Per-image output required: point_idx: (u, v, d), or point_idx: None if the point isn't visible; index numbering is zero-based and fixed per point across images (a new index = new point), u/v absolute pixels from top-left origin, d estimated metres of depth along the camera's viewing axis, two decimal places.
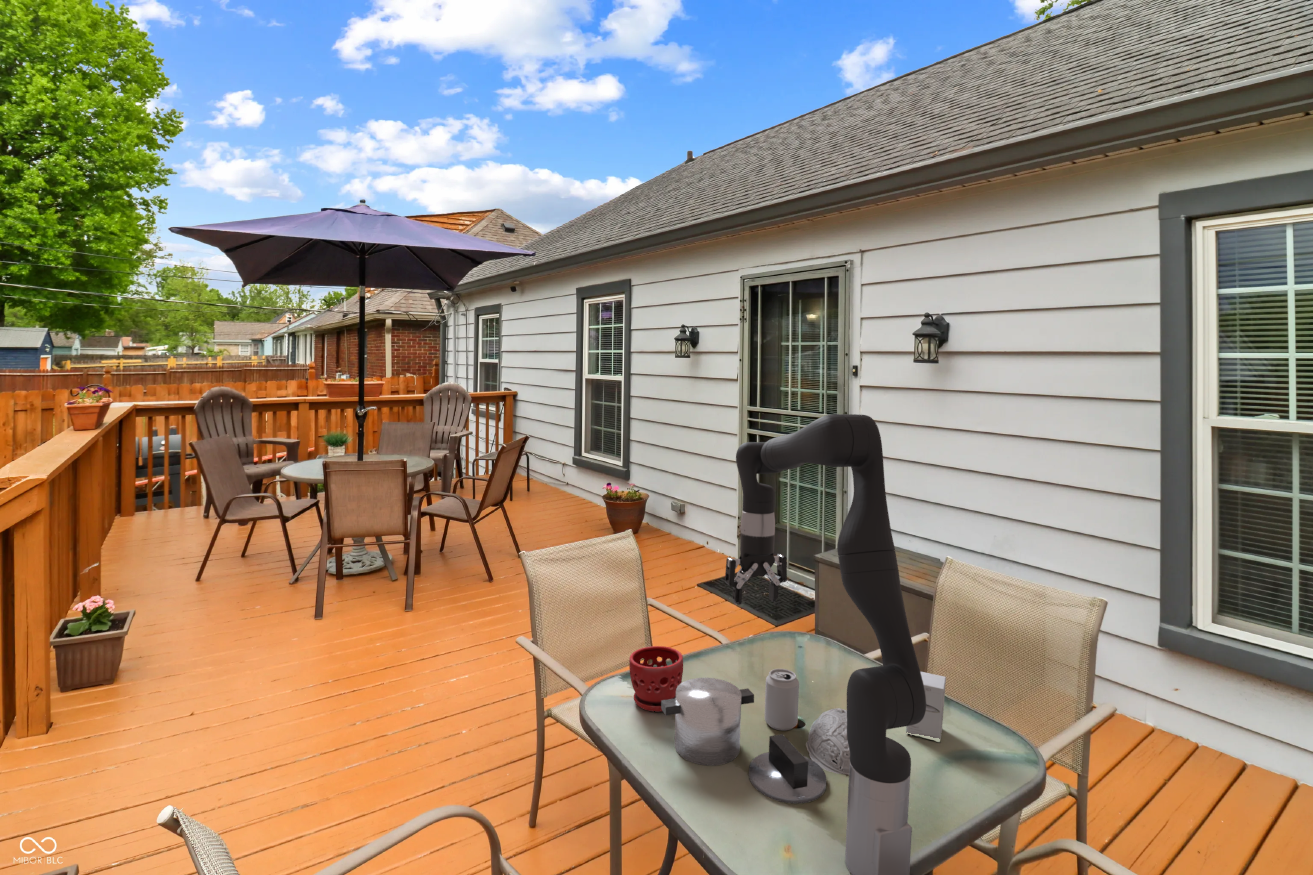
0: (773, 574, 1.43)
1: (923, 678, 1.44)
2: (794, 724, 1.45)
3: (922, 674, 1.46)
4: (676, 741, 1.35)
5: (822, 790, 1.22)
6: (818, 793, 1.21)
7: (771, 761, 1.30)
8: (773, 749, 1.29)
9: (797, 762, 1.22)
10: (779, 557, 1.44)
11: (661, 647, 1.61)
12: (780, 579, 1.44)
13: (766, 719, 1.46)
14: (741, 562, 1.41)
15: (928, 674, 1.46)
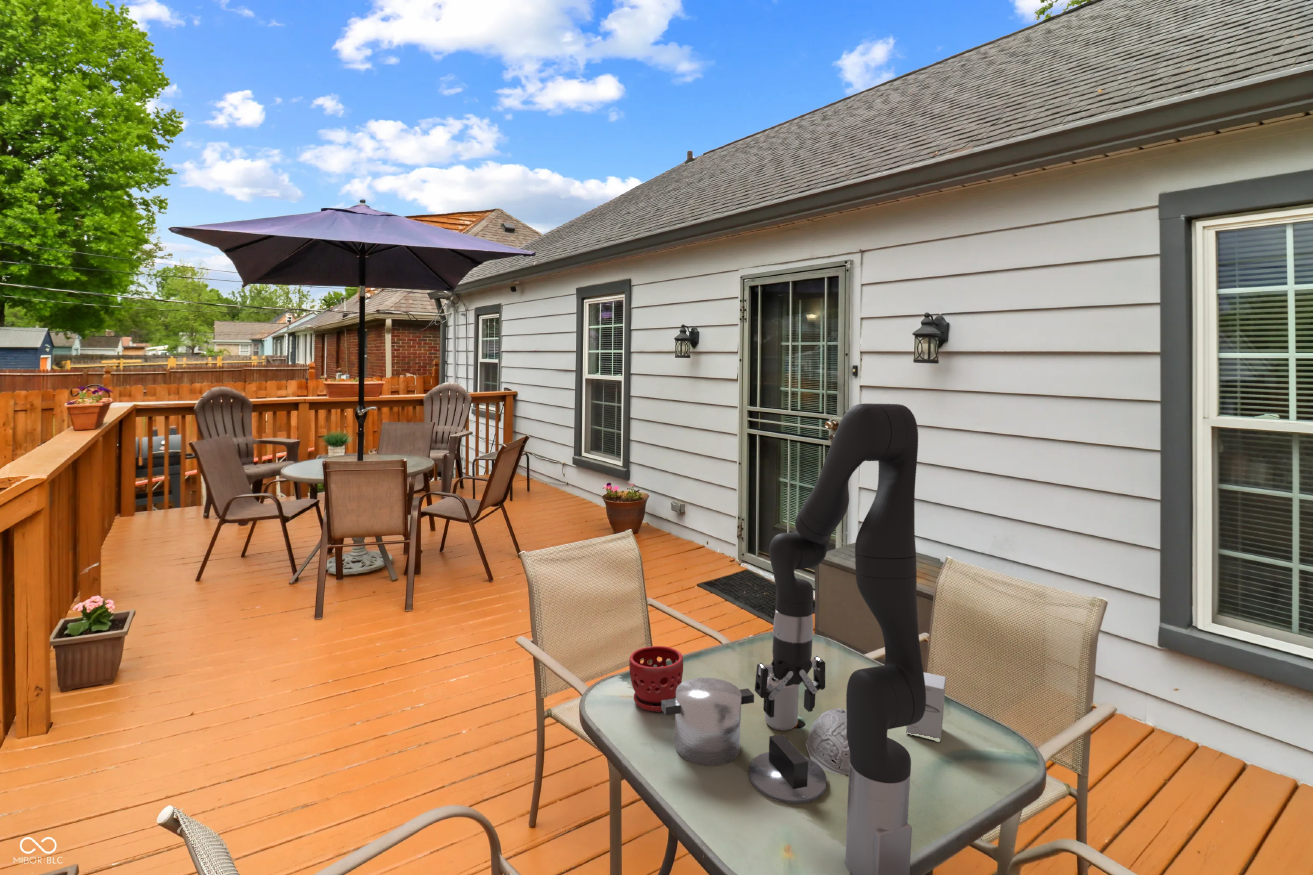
0: (810, 682, 1.25)
1: None
2: (794, 724, 1.45)
3: None
4: (676, 741, 1.35)
5: (822, 790, 1.22)
6: (818, 793, 1.21)
7: (771, 761, 1.30)
8: (773, 749, 1.29)
9: (797, 762, 1.22)
10: (817, 661, 1.26)
11: (661, 647, 1.61)
12: (817, 686, 1.26)
13: (766, 719, 1.46)
14: (774, 670, 1.23)
15: (928, 674, 1.46)
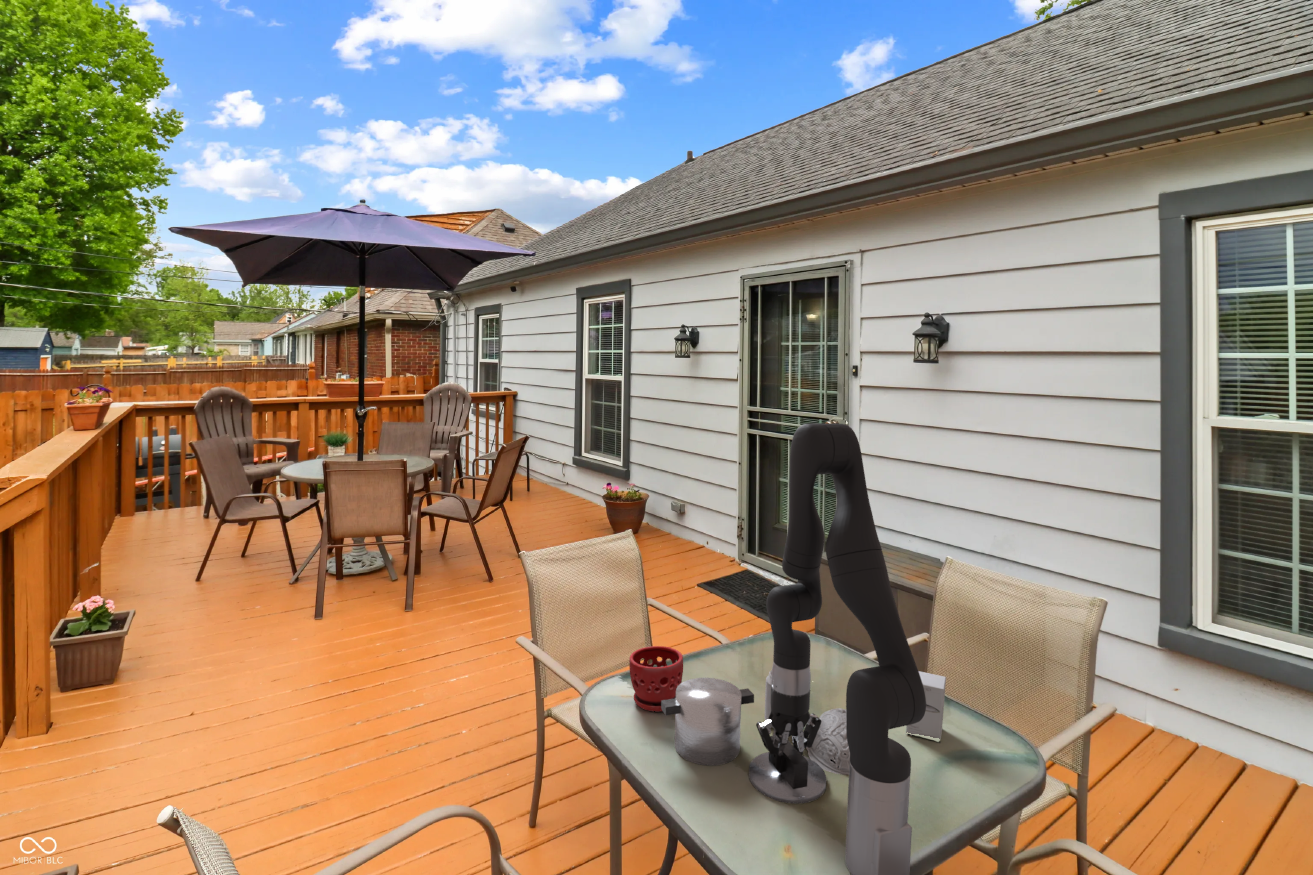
0: (802, 738, 1.25)
1: (923, 678, 1.44)
2: None
3: (922, 674, 1.46)
4: (676, 741, 1.35)
5: (822, 790, 1.22)
6: (818, 793, 1.21)
7: (771, 761, 1.30)
8: None
9: (797, 762, 1.22)
10: (814, 717, 1.27)
11: (661, 647, 1.61)
12: (804, 744, 1.27)
13: (766, 719, 1.46)
14: (773, 724, 1.24)
15: (928, 674, 1.46)
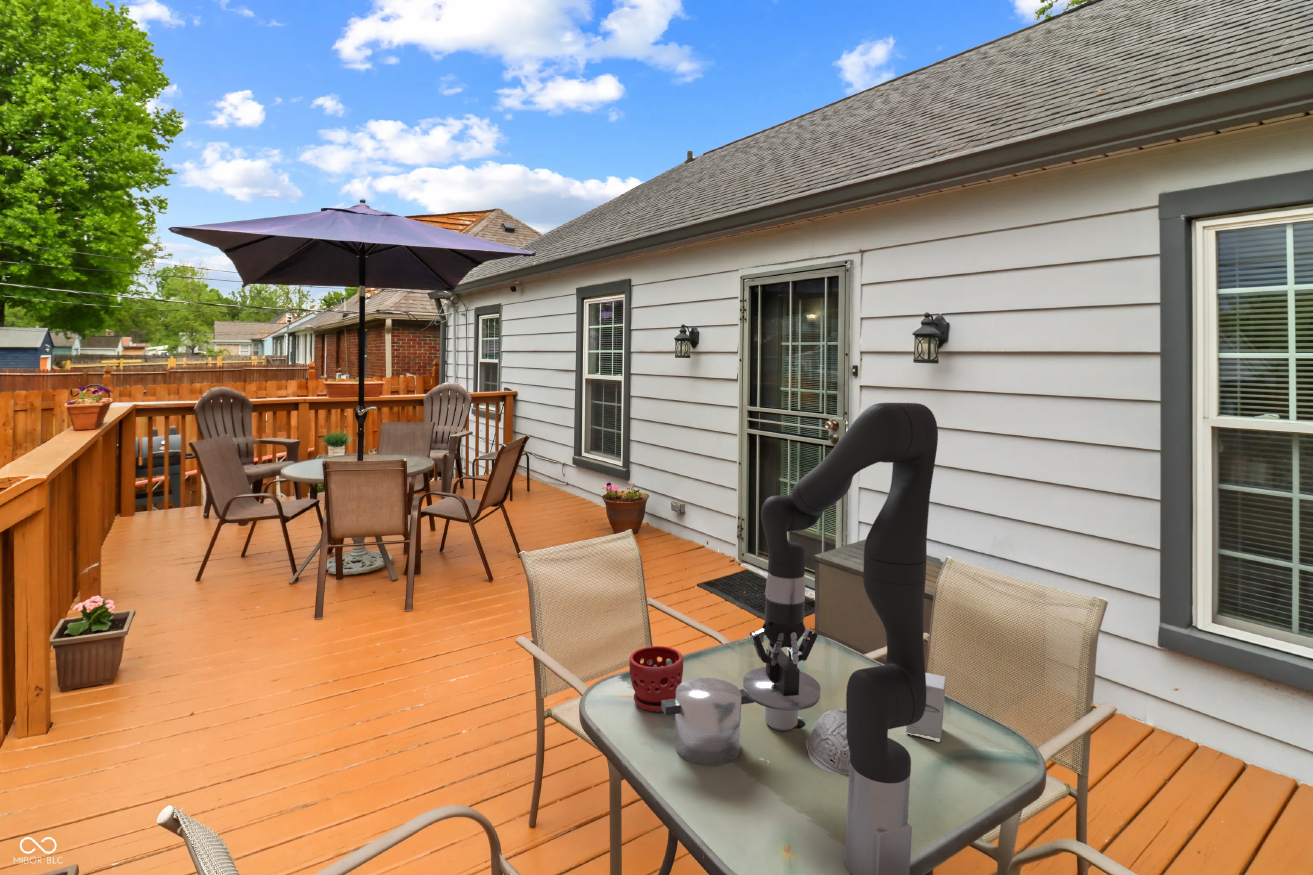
0: (796, 649, 1.25)
1: None
2: (794, 724, 1.45)
3: None
4: (676, 741, 1.35)
5: (813, 699, 1.21)
6: (809, 701, 1.20)
7: None
8: None
9: (788, 669, 1.21)
10: (810, 631, 1.26)
11: (661, 647, 1.61)
12: (799, 657, 1.26)
13: (766, 719, 1.46)
14: (765, 633, 1.24)
15: (928, 674, 1.46)
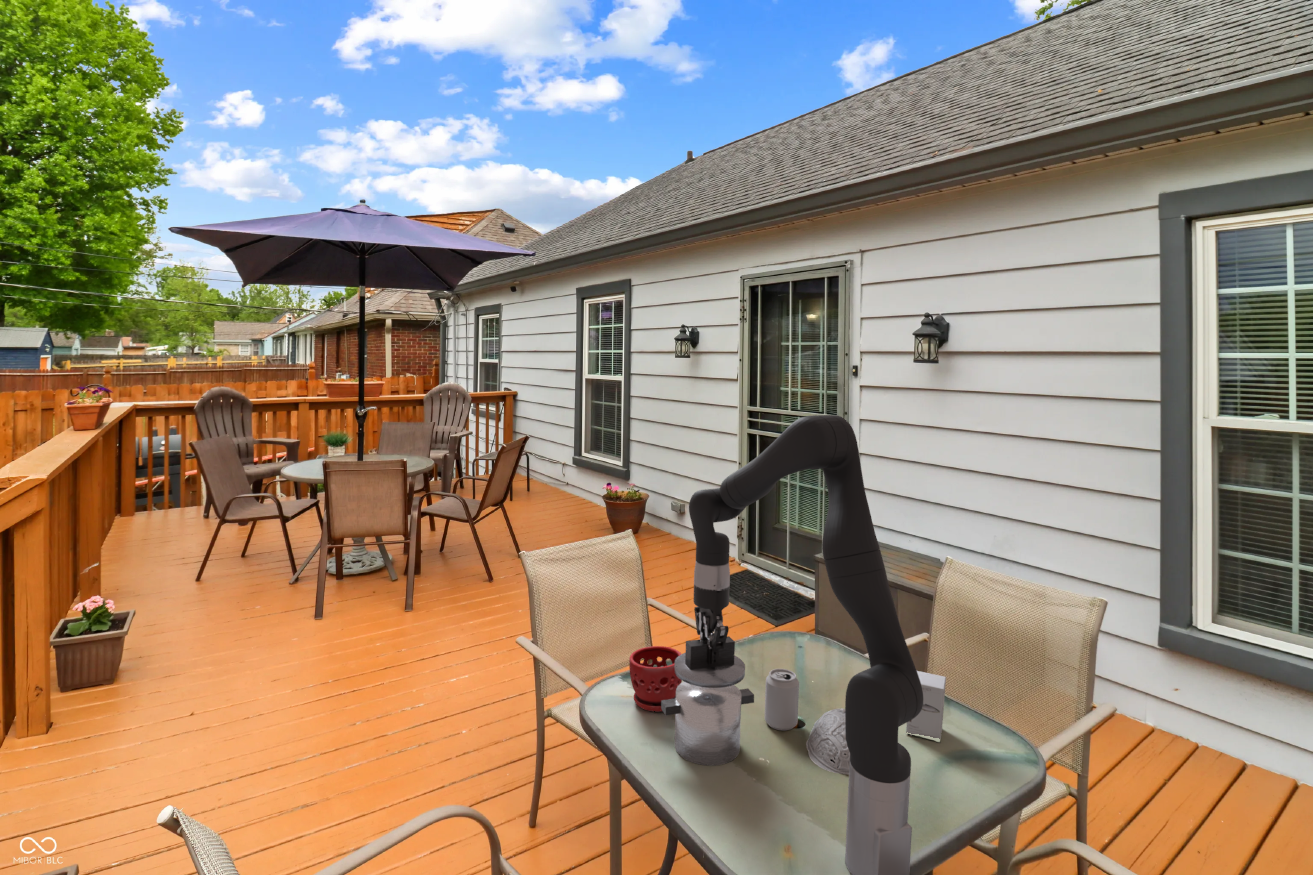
0: (706, 634, 1.33)
1: (923, 678, 1.44)
2: (794, 724, 1.45)
3: (922, 674, 1.46)
4: (676, 741, 1.35)
5: (688, 678, 1.30)
6: (683, 675, 1.31)
7: None
8: None
9: (688, 642, 1.35)
10: (718, 625, 1.30)
11: (661, 647, 1.61)
12: None
13: (766, 719, 1.46)
14: None
15: (928, 674, 1.46)
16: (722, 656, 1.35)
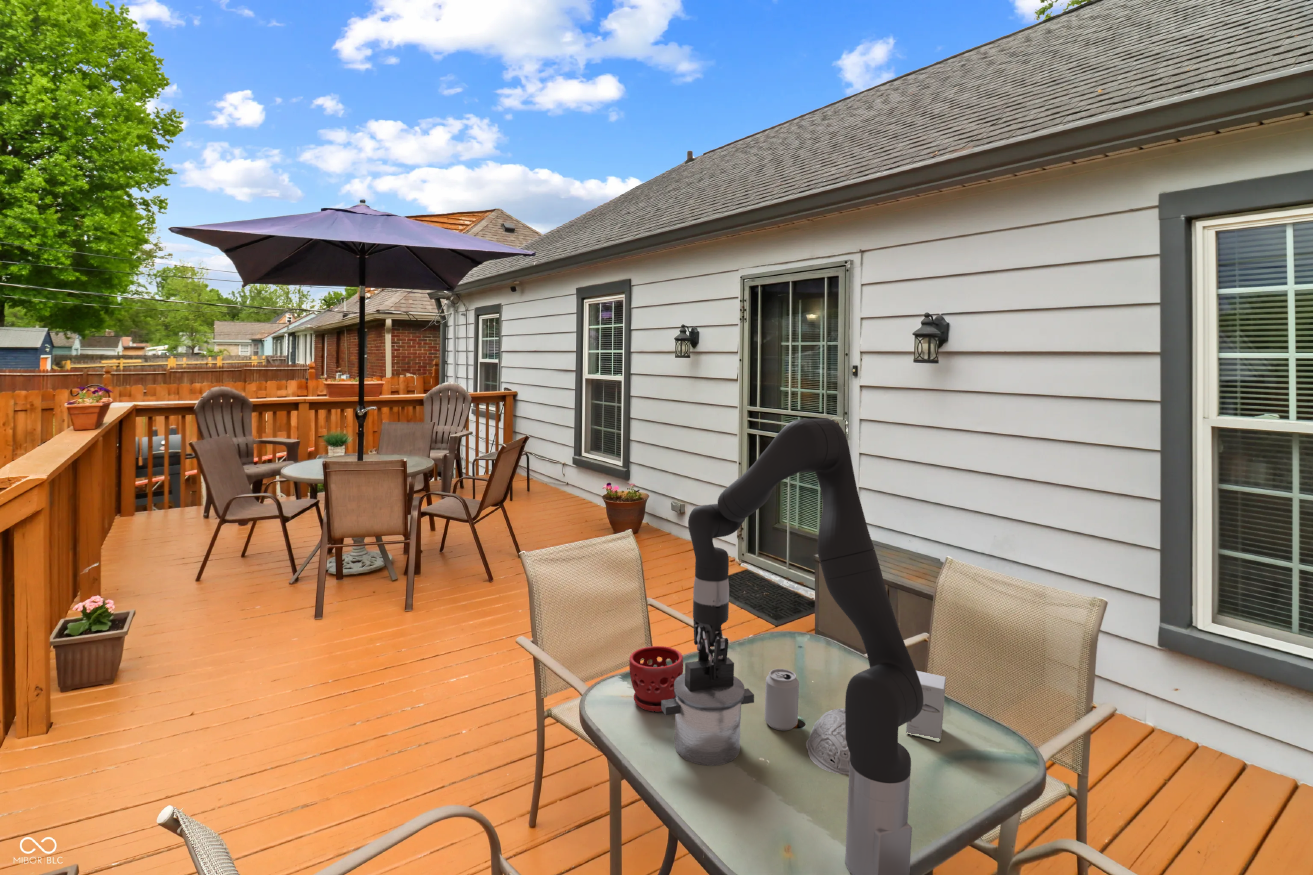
0: (707, 649, 1.33)
1: (923, 678, 1.44)
2: (794, 724, 1.45)
3: (922, 674, 1.46)
4: (676, 741, 1.35)
5: (688, 700, 1.31)
6: (683, 697, 1.32)
7: None
8: None
9: (688, 664, 1.35)
10: (718, 638, 1.30)
11: (661, 647, 1.61)
12: None
13: (766, 719, 1.46)
14: None
15: (928, 674, 1.46)
16: (722, 678, 1.36)
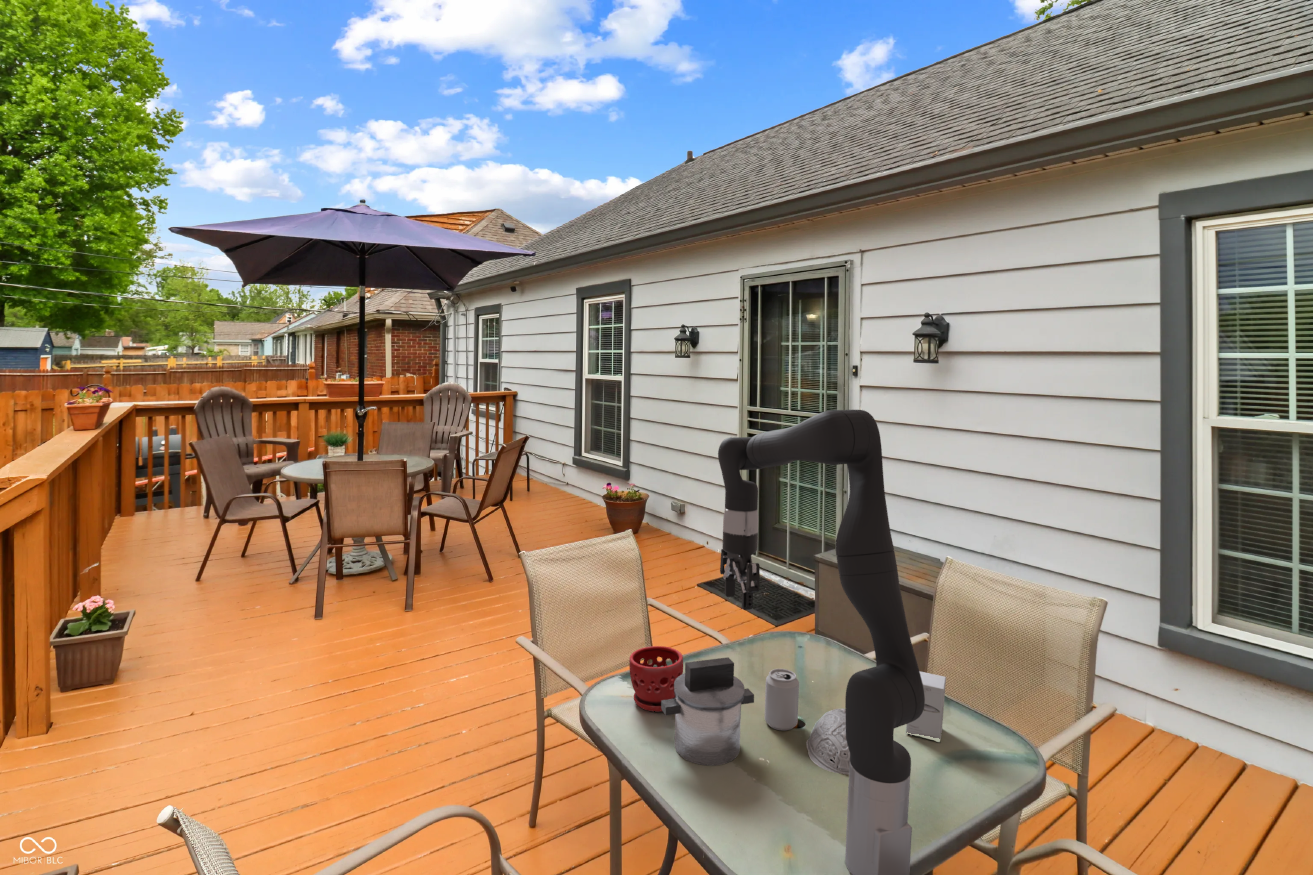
0: (739, 578, 1.35)
1: (923, 678, 1.44)
2: (794, 724, 1.45)
3: (922, 674, 1.46)
4: (676, 741, 1.35)
5: (688, 700, 1.31)
6: (683, 697, 1.32)
7: None
8: None
9: (688, 664, 1.35)
10: (749, 564, 1.33)
11: (661, 647, 1.61)
12: None
13: (766, 719, 1.46)
14: None
15: (928, 674, 1.46)
16: (722, 678, 1.36)
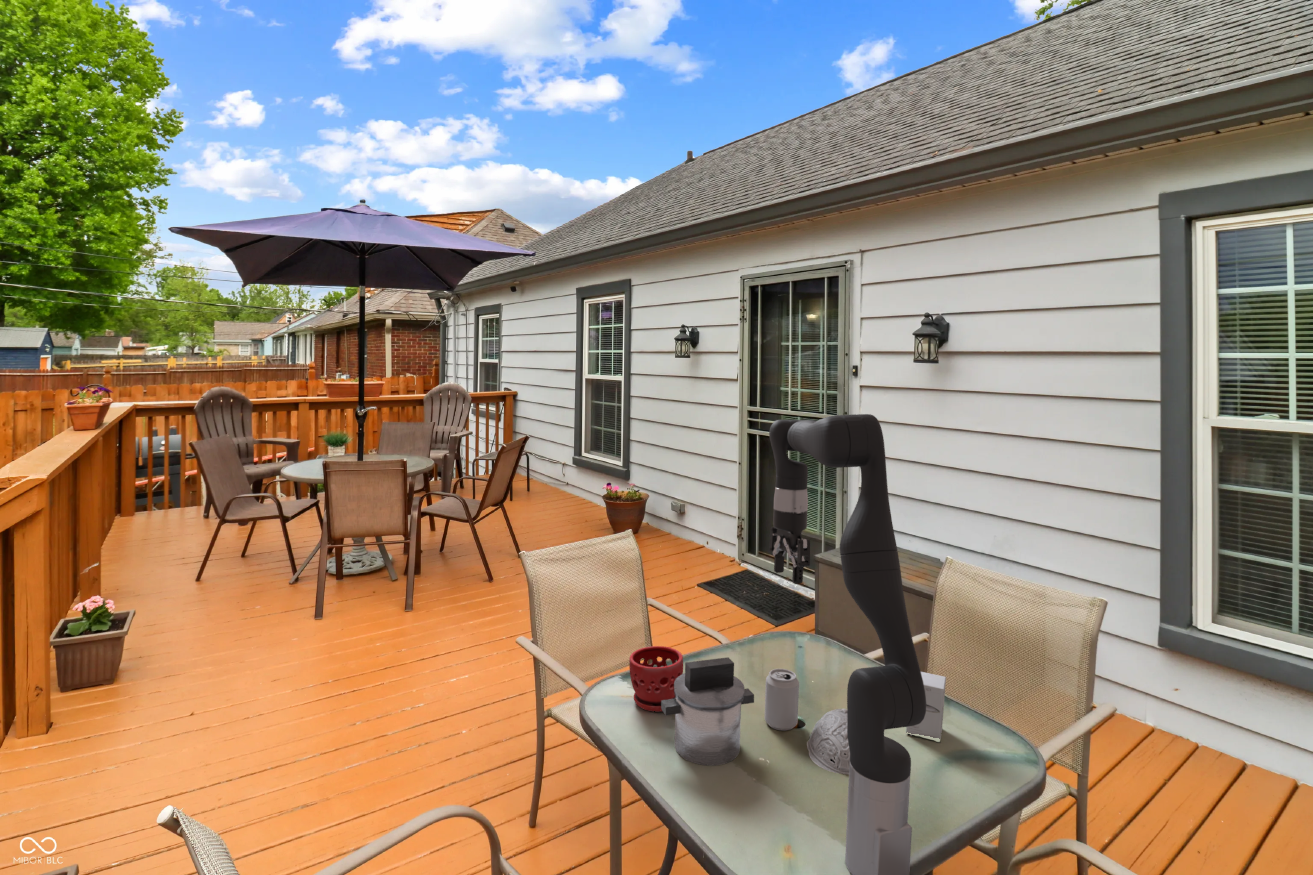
0: (789, 553, 1.42)
1: (923, 678, 1.44)
2: (794, 724, 1.45)
3: (922, 674, 1.46)
4: (676, 741, 1.35)
5: (688, 700, 1.31)
6: (683, 697, 1.32)
7: None
8: None
9: (688, 664, 1.35)
10: (800, 540, 1.40)
11: (661, 647, 1.61)
12: None
13: (766, 719, 1.46)
14: None
15: (928, 674, 1.46)
16: (722, 678, 1.36)
